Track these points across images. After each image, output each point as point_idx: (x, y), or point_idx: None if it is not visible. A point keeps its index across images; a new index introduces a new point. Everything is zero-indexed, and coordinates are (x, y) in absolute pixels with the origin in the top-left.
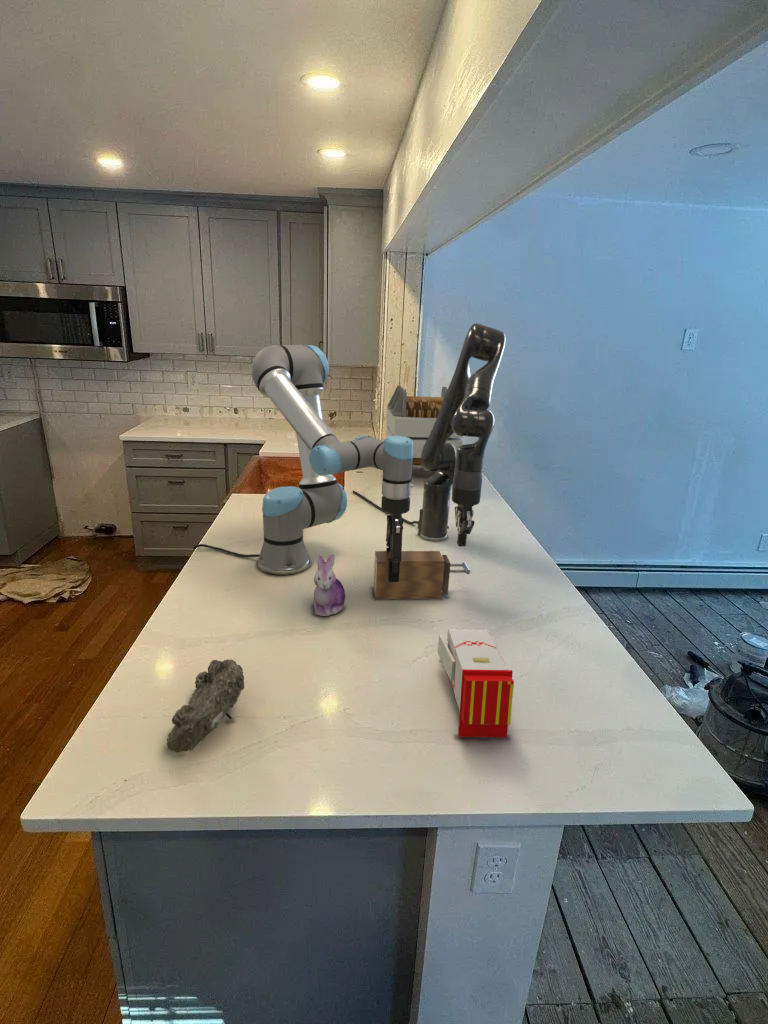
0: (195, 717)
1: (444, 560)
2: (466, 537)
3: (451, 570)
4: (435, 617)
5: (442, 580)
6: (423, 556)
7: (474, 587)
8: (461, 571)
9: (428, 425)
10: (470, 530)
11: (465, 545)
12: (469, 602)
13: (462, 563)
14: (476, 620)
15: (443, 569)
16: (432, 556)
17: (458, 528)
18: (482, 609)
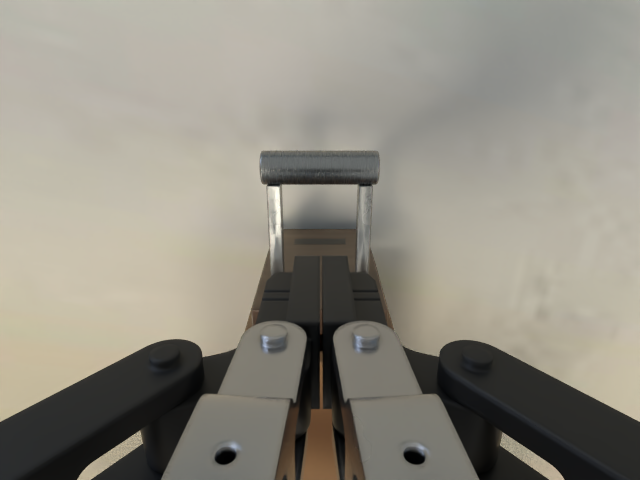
0: None
1: None
2: (353, 299)
3: (365, 269)
4: (514, 298)
5: (383, 294)
6: (327, 458)
7: (264, 67)
8: (371, 209)
9: None
10: (604, 420)
11: (347, 258)
12: (415, 134)
13: (269, 182)
14: (574, 143)
15: (393, 328)
16: (327, 414)
17: (304, 455)
18: (488, 87)
